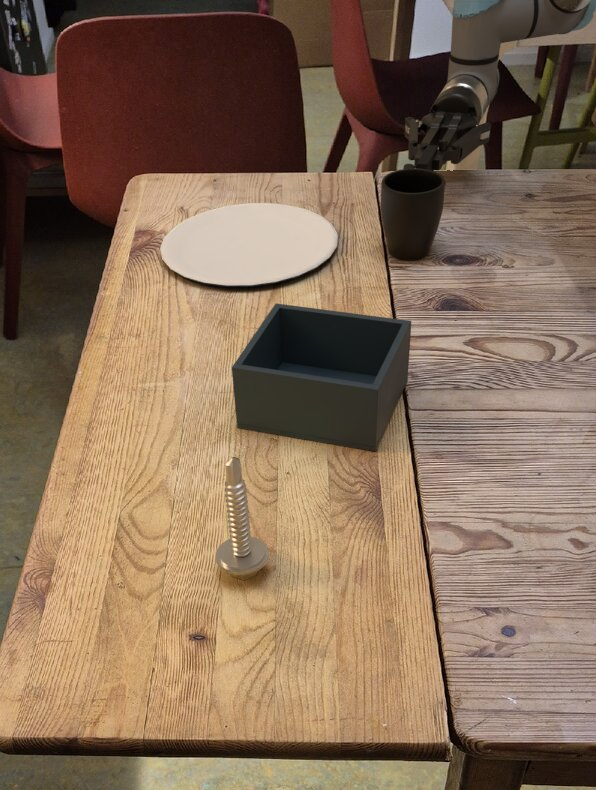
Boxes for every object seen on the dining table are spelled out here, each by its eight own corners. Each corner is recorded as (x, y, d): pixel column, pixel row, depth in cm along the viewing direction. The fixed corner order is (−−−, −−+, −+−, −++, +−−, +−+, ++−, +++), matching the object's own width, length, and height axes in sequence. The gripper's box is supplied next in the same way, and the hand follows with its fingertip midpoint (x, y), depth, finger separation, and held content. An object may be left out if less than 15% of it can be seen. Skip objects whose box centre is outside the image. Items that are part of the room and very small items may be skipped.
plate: (329, 204, 139) (329, 195, 138) (347, 285, 121) (347, 276, 120) (163, 216, 139) (162, 208, 138) (157, 299, 122) (156, 290, 121)
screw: (217, 590, 84) (218, 553, 87) (270, 587, 84) (269, 551, 87) (202, 477, 75) (204, 441, 78) (262, 474, 74) (261, 438, 78)
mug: (436, 224, 132) (442, 155, 125) (441, 264, 124) (447, 193, 117) (378, 226, 133) (380, 157, 126) (379, 265, 124) (381, 194, 118)
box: (278, 362, 110) (275, 303, 104) (407, 381, 105) (411, 320, 100) (237, 428, 101) (231, 367, 96) (375, 451, 97) (378, 389, 91)
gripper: (497, 140, 143) (465, 205, 128) (414, 134, 146) (374, 197, 131) (503, 87, 137) (471, 149, 122) (417, 82, 141) (375, 141, 126)
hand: (421, 173), depth 127 cm, fingers closed
